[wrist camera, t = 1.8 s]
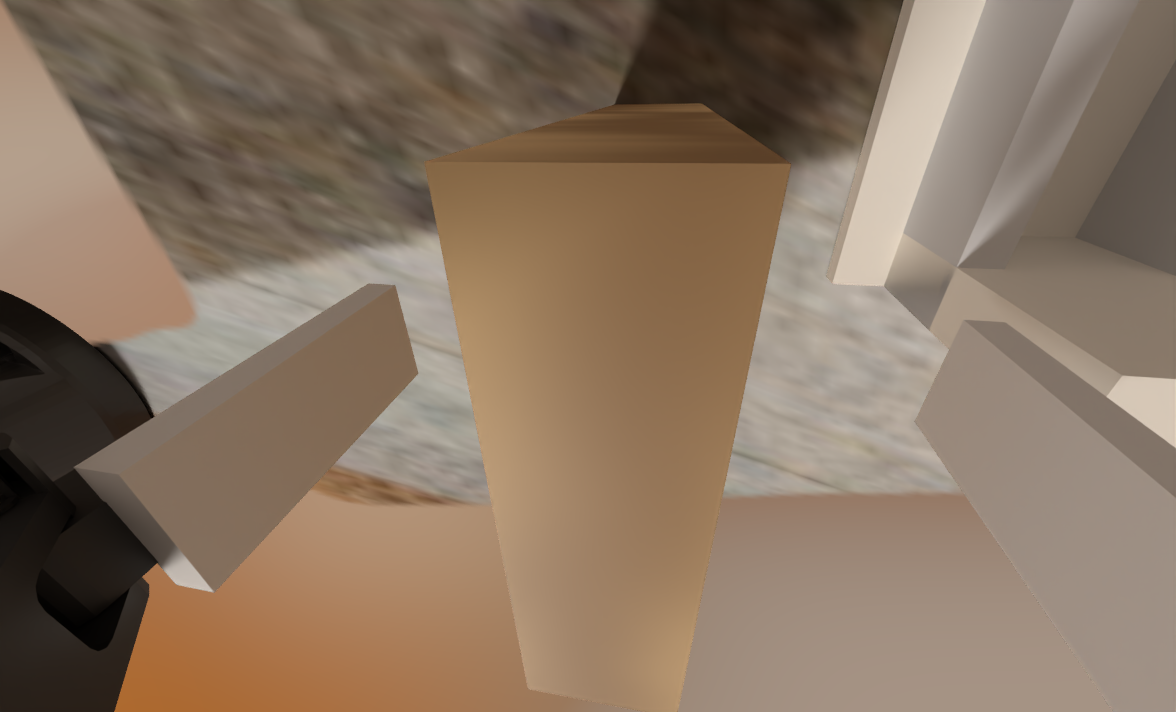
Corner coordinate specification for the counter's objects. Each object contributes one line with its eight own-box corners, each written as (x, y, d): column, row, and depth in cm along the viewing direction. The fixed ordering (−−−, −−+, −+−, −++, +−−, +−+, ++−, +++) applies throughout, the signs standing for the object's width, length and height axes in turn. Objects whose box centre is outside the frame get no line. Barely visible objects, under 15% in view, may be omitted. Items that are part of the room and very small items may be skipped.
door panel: (609, 347, 21) (523, 687, 9) (611, 104, 16) (413, 160, 4) (678, 352, 20) (681, 718, 9) (704, 103, 15) (804, 164, 3)
